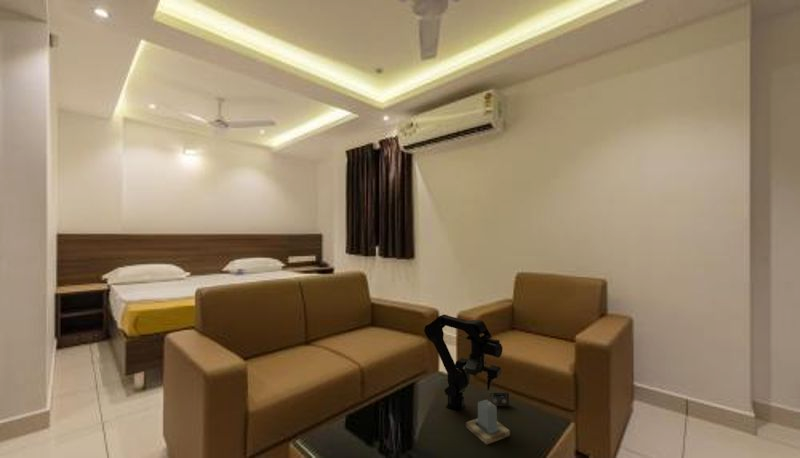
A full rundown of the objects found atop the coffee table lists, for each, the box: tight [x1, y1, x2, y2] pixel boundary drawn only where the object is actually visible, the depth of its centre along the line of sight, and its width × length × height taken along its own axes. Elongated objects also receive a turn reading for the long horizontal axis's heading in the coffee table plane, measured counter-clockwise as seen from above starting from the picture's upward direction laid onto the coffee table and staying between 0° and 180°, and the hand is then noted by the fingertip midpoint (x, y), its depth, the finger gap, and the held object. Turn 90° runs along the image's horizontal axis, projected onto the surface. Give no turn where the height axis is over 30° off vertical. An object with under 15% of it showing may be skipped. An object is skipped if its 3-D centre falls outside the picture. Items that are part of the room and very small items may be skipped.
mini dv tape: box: [489, 391, 510, 407], centre depth 159 cm, size 8×2×6 cm, turn 84°
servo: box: [475, 399, 500, 434], centre depth 140 cm, size 9×5×12 cm, turn 26°
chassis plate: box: [465, 417, 511, 445], centre depth 140 cm, size 13×12×2 cm
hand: (478, 387), depth 150 cm, fingers open, 9 cm apart
